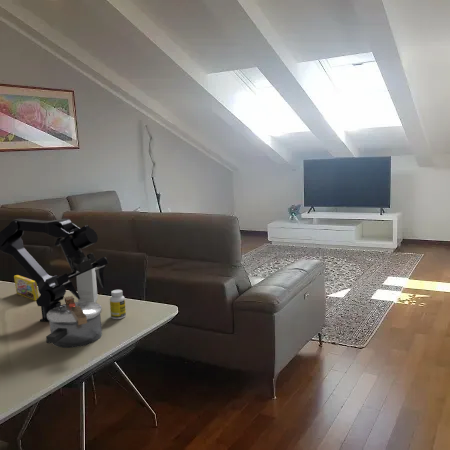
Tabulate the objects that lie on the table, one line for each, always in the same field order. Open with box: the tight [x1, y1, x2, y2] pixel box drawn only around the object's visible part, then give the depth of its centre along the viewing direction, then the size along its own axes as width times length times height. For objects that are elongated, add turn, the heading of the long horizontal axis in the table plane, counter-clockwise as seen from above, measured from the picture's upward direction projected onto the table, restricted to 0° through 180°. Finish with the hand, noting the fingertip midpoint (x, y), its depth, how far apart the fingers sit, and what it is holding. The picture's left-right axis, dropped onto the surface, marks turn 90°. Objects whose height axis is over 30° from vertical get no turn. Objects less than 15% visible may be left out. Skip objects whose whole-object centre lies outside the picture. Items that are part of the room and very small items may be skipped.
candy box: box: [13, 274, 40, 302], centre depth 198 cm, size 16×2×8 cm, turn 50°
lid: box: [47, 295, 103, 325], centre depth 152 cm, size 24×17×3 cm
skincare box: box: [75, 263, 98, 303], centre depth 187 cm, size 8×7×16 cm
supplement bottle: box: [109, 289, 127, 320], centre depth 171 cm, size 5×5×10 cm
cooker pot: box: [45, 313, 103, 349], centre depth 153 cm, size 16×26×8 cm, turn 168°
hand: (91, 293), depth 165 cm, fingers open, 9 cm apart
